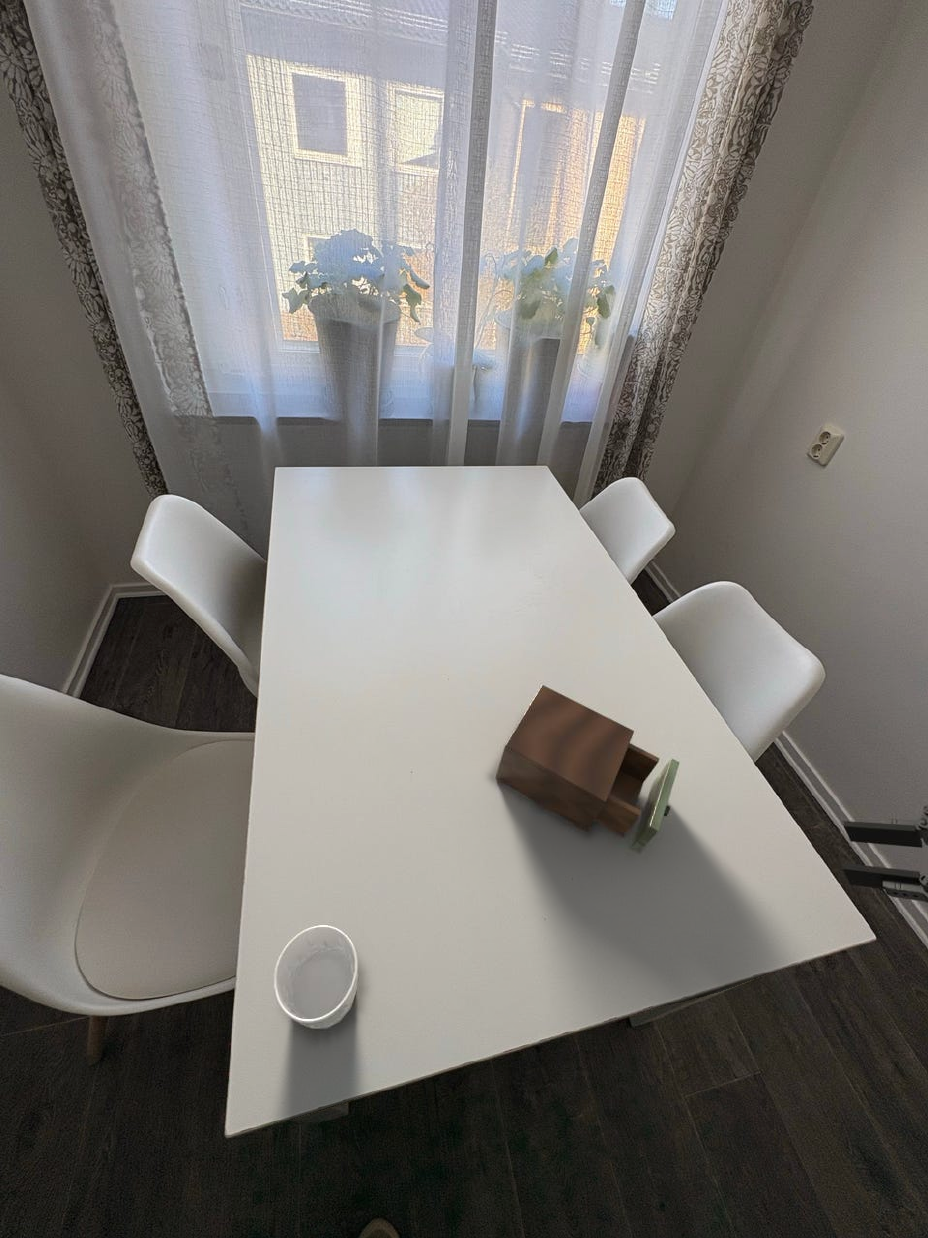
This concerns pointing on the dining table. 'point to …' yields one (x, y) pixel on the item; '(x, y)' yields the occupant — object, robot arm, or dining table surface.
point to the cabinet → (564, 756)
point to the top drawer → (626, 792)
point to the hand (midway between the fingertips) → (847, 852)
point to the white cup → (317, 977)
